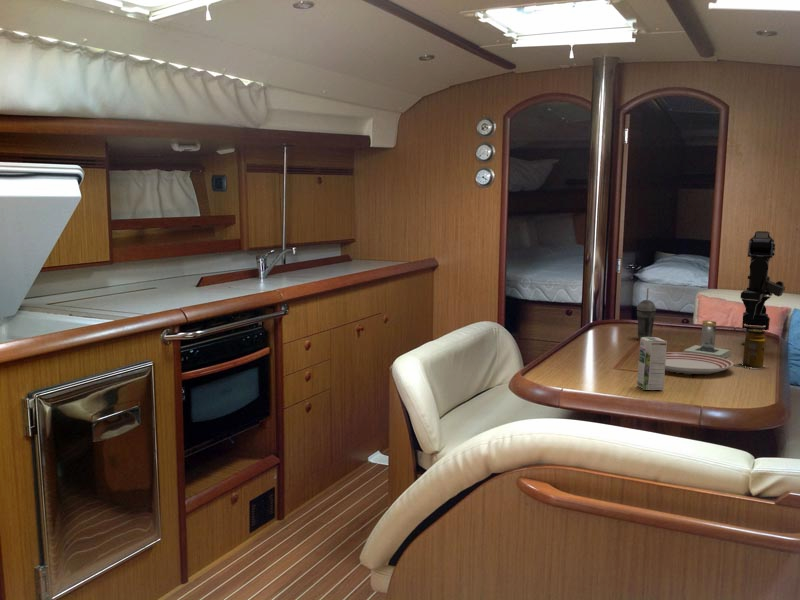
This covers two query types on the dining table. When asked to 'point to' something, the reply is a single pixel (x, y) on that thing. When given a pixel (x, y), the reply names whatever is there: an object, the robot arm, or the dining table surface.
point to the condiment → (753, 349)
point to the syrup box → (651, 363)
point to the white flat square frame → (717, 352)
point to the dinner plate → (695, 363)
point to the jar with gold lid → (708, 336)
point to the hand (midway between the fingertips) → (754, 317)
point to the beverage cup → (645, 317)
